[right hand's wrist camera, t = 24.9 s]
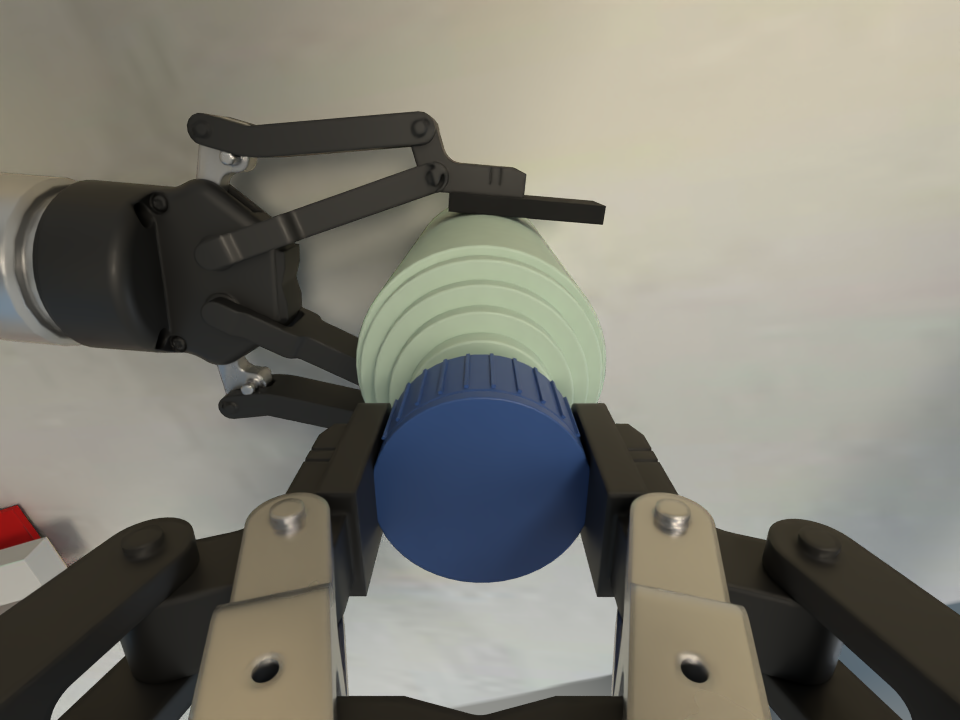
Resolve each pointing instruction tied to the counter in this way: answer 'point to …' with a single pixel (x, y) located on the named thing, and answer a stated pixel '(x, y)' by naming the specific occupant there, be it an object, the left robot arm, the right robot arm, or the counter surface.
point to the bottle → (480, 309)
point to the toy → (23, 558)
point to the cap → (481, 470)
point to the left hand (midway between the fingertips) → (582, 304)
